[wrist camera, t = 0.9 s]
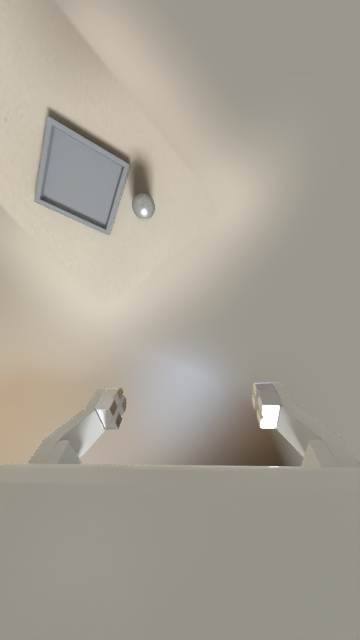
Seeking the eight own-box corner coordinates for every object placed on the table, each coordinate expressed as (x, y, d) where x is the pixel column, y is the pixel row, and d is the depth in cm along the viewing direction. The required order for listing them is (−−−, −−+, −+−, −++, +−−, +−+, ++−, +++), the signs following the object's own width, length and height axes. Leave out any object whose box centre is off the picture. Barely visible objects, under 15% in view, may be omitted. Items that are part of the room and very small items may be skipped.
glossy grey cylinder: (131, 215, 41) (129, 212, 34) (138, 195, 40) (136, 188, 33) (149, 223, 43) (150, 223, 35) (155, 205, 41) (158, 200, 34)
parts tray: (38, 202, 38) (34, 201, 36) (52, 121, 33) (47, 115, 32) (109, 235, 42) (108, 235, 41) (130, 167, 38) (129, 164, 36)
